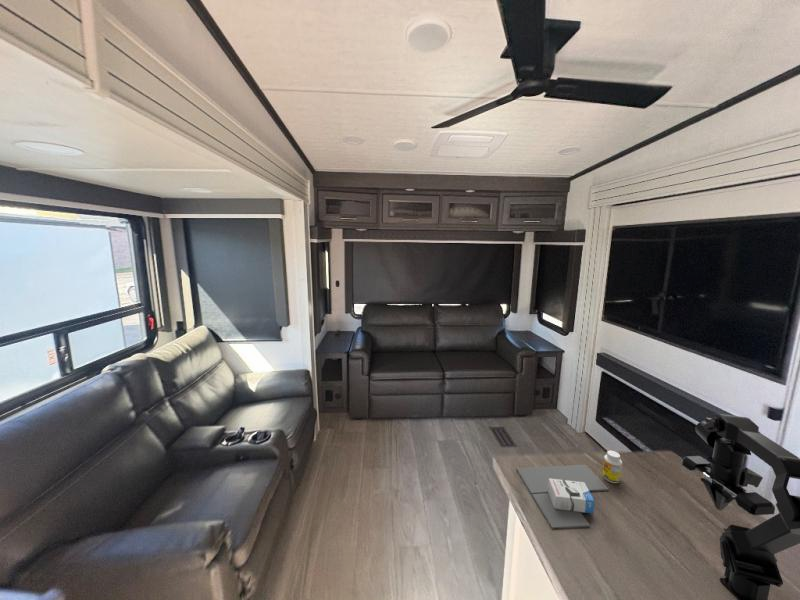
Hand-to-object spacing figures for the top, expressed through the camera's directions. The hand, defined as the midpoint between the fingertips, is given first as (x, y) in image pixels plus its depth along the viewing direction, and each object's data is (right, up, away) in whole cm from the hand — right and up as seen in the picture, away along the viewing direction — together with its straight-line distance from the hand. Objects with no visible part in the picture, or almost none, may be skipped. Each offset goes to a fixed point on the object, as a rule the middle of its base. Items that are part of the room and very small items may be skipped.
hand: (719, 509), depth 86 cm
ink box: (-27, -7, +16) cm, 32 cm away
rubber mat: (-30, -9, +21) cm, 38 cm away
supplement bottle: (-11, -8, +28) cm, 31 cm away
